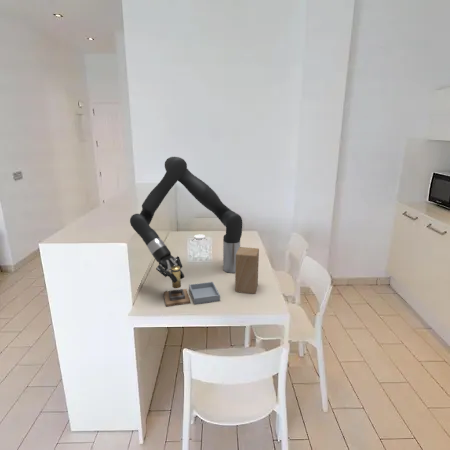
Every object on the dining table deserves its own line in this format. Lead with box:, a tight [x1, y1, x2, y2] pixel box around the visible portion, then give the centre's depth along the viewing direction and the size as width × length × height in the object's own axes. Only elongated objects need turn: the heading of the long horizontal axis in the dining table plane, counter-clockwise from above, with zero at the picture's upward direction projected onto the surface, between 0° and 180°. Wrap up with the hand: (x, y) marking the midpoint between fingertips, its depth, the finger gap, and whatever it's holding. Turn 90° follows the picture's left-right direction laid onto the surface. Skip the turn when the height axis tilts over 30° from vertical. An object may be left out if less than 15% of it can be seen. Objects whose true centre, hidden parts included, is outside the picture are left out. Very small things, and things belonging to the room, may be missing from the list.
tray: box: [188, 281, 221, 305], centre depth 160 cm, size 12×14×3 cm
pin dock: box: [163, 288, 192, 307], centre depth 157 cm, size 11×12×3 cm
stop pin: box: [171, 265, 182, 289], centre depth 154 cm, size 4×4×10 cm
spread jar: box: [193, 233, 206, 240], centre depth 211 cm, size 12×11×12 cm
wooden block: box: [234, 246, 260, 295], centre depth 164 cm, size 10×10×20 cm
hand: (179, 279), depth 153 cm, fingers closed on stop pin, 4 cm apart
